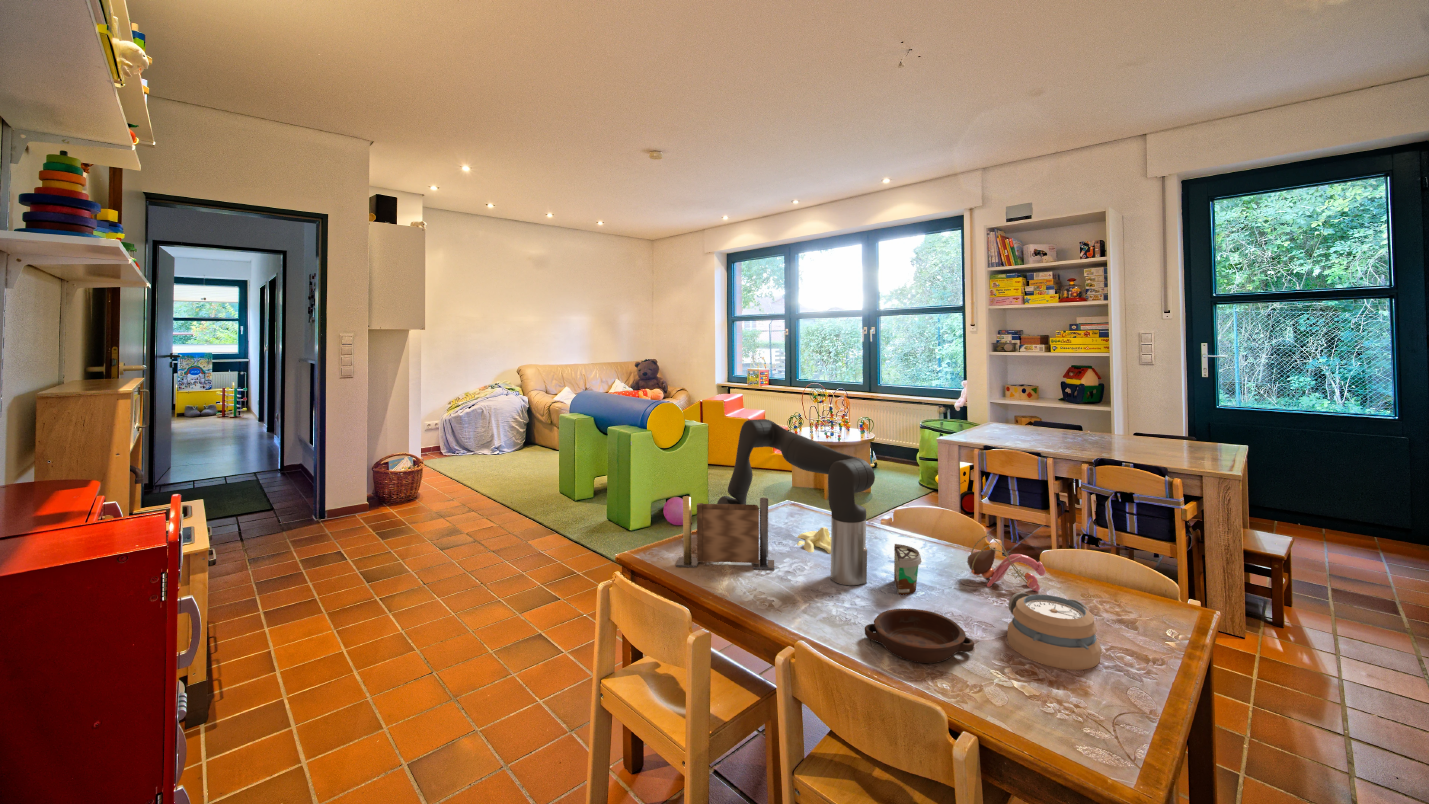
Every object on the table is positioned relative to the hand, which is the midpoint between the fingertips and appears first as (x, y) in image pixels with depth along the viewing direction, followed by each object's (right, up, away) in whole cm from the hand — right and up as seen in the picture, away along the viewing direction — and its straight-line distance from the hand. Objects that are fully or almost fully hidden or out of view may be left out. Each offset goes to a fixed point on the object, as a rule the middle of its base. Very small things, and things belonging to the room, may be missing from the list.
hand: (723, 540), depth 170 cm
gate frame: (+1, -7, 0) cm, 7 cm away
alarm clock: (+70, -11, -45) cm, 84 cm away
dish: (+41, -12, -47) cm, 63 cm away
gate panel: (+1, -6, -1) cm, 6 cm away
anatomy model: (+75, -8, -16) cm, 77 cm away
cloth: (+31, -6, +16) cm, 36 cm away
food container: (+48, -9, -18) cm, 52 cm away
